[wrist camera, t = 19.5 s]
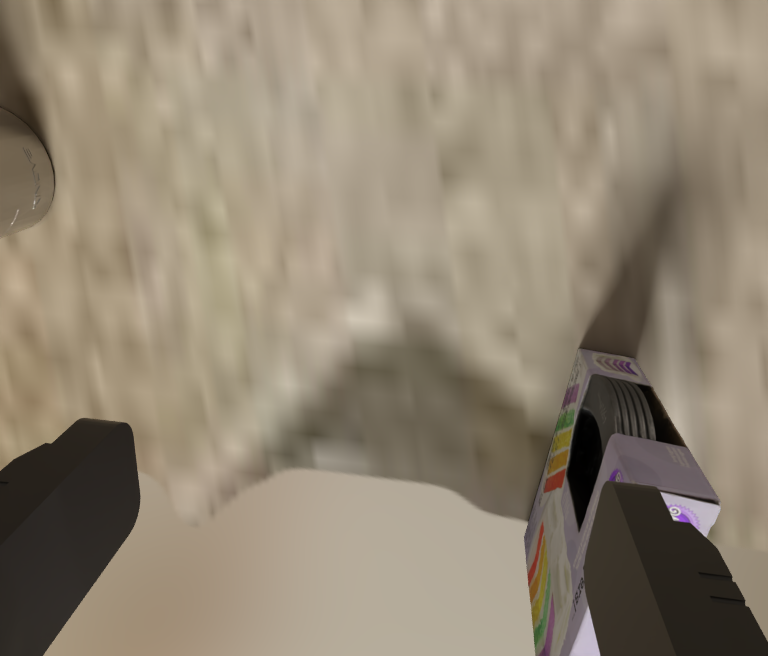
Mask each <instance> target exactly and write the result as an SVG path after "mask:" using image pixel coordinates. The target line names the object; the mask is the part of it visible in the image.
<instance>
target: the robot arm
mask: <svg viewBox="0 0 768 656" xmlns="http://www.w3.org/2000/svg"><path fill="white" fill-rule="evenodd" d="M53 193H54V174H53V170H52V166H51V162H50V159H49V157H48V155H47V153H46V150H45V148H44V146H43V145H42V143H41V142H40V140H39V139H38V137H37V136H36V134H35V133H34V132H33V131H32V130H31V129H30V128H29V127H28V126H27V125H26V124H25V123H24V122H23V121H22V120H20V119H19V118H18V117H16V116H15V115H14V114H12V113H10V112H8V111H6V110H4V109H2V108H0V238H3V237H5V236H8V235H11V234H13V233H16V232H19V231H22V230H24V229H27V228H29V227H32V226H33V225H35V224H36V223H37V222H39V221H40V220H41V219H42V218H43V217H44V215H45V214H46V213H47V211H48V209H49V207H50V204H51V202H52V199H53ZM139 507H140V489H139V480H138V472H137V463H136V454H135V446H134V437H133V432H132V429H131V427H130V426H129V424H127V423H124V422H115V421H107V420H98V419H90V418H81V419H79V420H77V421H76V422H75V423H74V424H73V425H72V426H70V427H69V428H68V429H67V430H66V431H65V432H64V433H63V434H62V435H61V436H59V437H58V438H57V439H56V440H55V441H54V442H53V443H52V444H49V443H45V444H43V445H41V446H39V447H37V448H35V449H33V450H31V451H29V452H27V453H25V454H23V455H21V456H19V457H17V458H16V459H14V460H13V461H11V462H10V463H9V464H8V465H7V466H6V467H5V468H3V469H2V470H1V471H0V656H43V655H44V653H45V652H46V650H47V649H48V648H49V646H50V645H51V643H52V642H53V641H54V639H55V638H56V636H57V635H58V633H59V632H60V631H61V629H62V628H63V626H64V625H65V624H66V622H67V621H68V619H69V618H70V617H71V615H72V614H73V613H74V611H75V610H76V608H77V607H78V605H79V604H80V603H81V601H82V600H83V598H84V597H85V595H86V594H87V593H88V591H89V590H90V589H91V587H92V586H93V584H94V583H95V582H96V580H97V579H98V577H99V576H100V575H101V573H102V572H103V570H104V569H105V568H106V566H107V565H108V563H109V562H110V561H111V559H112V558H113V556H114V555H115V554H116V552H117V551H118V549H119V548H120V547H121V545H122V544H123V542H124V541H125V540H126V538H127V537H128V535H129V534H130V532H131V530H132V529H133V527H134V525H135V522H136V519H137V516H138V512H139ZM584 586H585V593H586V598H587V602H588V606H589V610H590V615H591V619H592V623H593V627H594V631H595V635H596V640H597V644H598V648H599V652H600V656H768V642H767V640H766V638H765V636H764V635H763V632H762V630H761V629H760V627H759V625H758V623H757V621H756V619H755V618H754V616H753V614H752V612H751V610H750V608H749V607H747V606H745V599H744V597H743V595H742V593H741V591H740V590H739V588H738V586H737V584H736V583H735V582H733V581H732V575H731V573H730V571H729V569H728V567H727V565H726V564H725V562H724V560H723V558H722V556H721V554H720V553H719V551H718V549H717V548H716V547H715V546H714V545H713V544H712V543H711V542H710V541H709V540H708V539H707V538H706V537H705V536H704V535H703V534H702V533H701V532H700V531H699V530H698V529H697V528H696V527H694V526H693V525H692V524H691V523H689V522H680V521H674V520H673V518H672V516H671V514H670V512H669V510H668V507H667V505H666V503H665V501H664V499H663V497H662V495H661V493H660V491H659V489H658V488H657V487H655V486H650V485H641V484H633V483H624V482H616V481H606V482H605V483H604V485H603V487H602V489H601V493H600V497H599V501H598V505H597V509H596V513H595V517H594V521H593V526H592V530H591V534H590V538H589V542H588V546H587V550H586V555H585V562H584Z"/></svg>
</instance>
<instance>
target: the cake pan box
mask: <svg viewBox="0 0 768 656" xmlns="http://www.w3.org/2000/svg"><path fill="white" fill-rule="evenodd" d="M606 481H616V482H624V483H633V484H641V485H650V486H655V487H657V488H658V489H659V491H660V493H661V495H662V497H663V499H664V501H665V503H666V505H667V507H668V510H669V512H670V514H671V516H672V518H673V520H674V521H680V522H689V523H691V524H692V525H693V526H694V527H696V528H697V529H698V530H699V531H700V532H701V533H702V534H703V535H704V536H705V537H707V535H708V532H709V530H710V528H711V526H712V525H713V524H714V523H715V521H716V518H717V516H718V514H719V512H720V510H721V506H720V504H721V501H720V499H719V498H718V496H717V495H716V493H715V491H714V490H713V488H712V487H711V485H710V483H709V482H708V480H707V478H706V477H705V475H704V474H703V472H702V470H701V469H700V467H699V466H698V464H697V462H696V461H695V459H694V457H693V456H692V454H691V452H690V450H689V449H688V447H687V446H686V444H685V442H684V441H683V439H682V438H681V436H680V434H679V432H678V431H677V429H676V428H675V426H674V424H673V423H672V421H671V419H670V417H669V416H668V414H667V412H666V410H665V409H664V407H663V405H662V403H661V401H660V400H659V398H658V396H657V395H656V393H655V391H654V389H653V387H652V385H651V384H650V383H649V381H648V379H647V378H646V376H645V375H644V373H643V372H642V370H641V368H640V367H639V365H638V363H637V362H636V360H635V359H634V358H630V357H625V356H620V355H614V354H609V353H603V352H597V351H592V350H586V349H581V348H580V349H578V352H577V356H576V359H575V363H574V366H573V370H572V374H571V377H570V381H569V384H568V388H567V391H566V395H565V399H564V402H563V406H562V409H561V413H560V416H559V420H558V423H557V427H556V430H555V434H554V437H553V441H552V444H551V447H550V451H549V455H548V458H547V462H546V465H545V468H544V472H543V475H542V478H541V482H540V485H539V488H538V492H537V495H536V498H535V502H534V505H533V509H532V512H531V516H530V519H529V522H528V526H527V529H526V533H525V536H524V542H525V552H526V564H527V573H528V586H529V593H530V602H531V611H532V621H533V632H534V642H535V643H534V644H535V655H536V656H600V652H599V648H598V644H597V640H596V635H595V631H594V627H593V623H592V619H591V615H590V610H589V606H588V602H587V598H586V593H585V586H584V562H585V555H586V550H587V546H588V542H589V538H590V534H591V530H592V526H593V521H594V517H595V513H596V509H597V505H598V501H599V497H600V493H601V489H602V487H603V485H604V483H605V482H606Z"/></svg>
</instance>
